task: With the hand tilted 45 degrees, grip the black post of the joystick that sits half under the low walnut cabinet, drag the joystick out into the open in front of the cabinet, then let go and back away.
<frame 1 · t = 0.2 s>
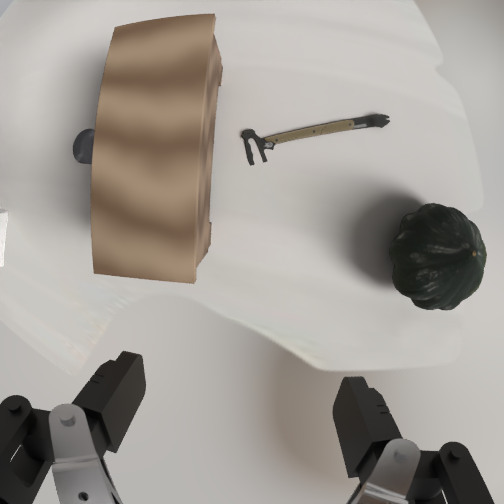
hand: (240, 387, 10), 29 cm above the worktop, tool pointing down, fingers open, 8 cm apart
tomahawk: (321, 138, 36), on the worktop
cabinet: (178, 151, 36), on the worktop
joystick: (123, 153, 36), on the worktop
squash: (417, 248, 39), on the worktop
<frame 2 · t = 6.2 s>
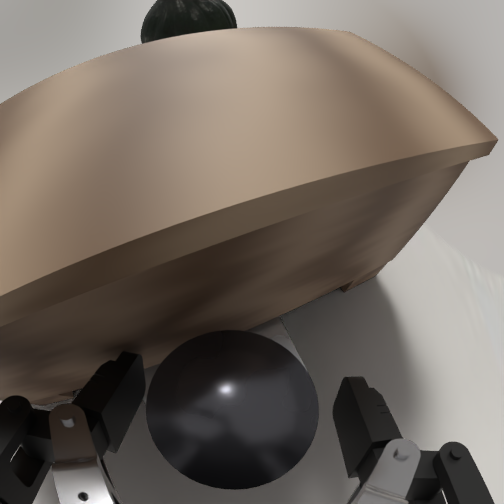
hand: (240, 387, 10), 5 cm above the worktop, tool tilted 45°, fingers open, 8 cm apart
cabinet: (180, 281, 18), on the worktop
joystick: (233, 407, 14), on the worktop
squash: (190, 61, 37), on the worktop
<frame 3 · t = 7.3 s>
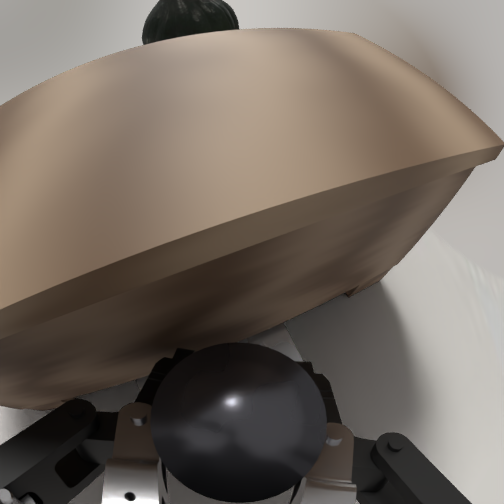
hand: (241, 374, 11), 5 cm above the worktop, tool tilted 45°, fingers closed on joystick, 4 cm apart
cabinet: (183, 287, 18), on the worktop
joystick: (237, 413, 14), on the worktop, touching gripper
squash: (192, 63, 37), on the worktop
when the fingers open (5 cm above the worktop, at t = 12.1 s): joystick stays where it is, on the worktop.
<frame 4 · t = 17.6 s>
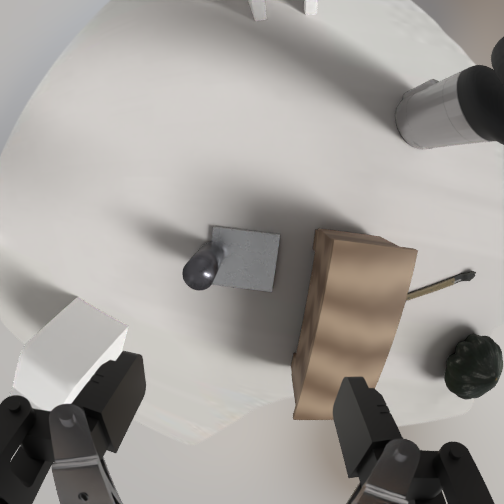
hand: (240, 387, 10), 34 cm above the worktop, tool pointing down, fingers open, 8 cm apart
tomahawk: (432, 291, 45), on the worktop
milk: (98, 333, 49), on the worktop
cabinet: (332, 307, 46), on the worktop
joystick: (211, 254, 44), on the worktop
squash: (461, 354, 49), on the worktop
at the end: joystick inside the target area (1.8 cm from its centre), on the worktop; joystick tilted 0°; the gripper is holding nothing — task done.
